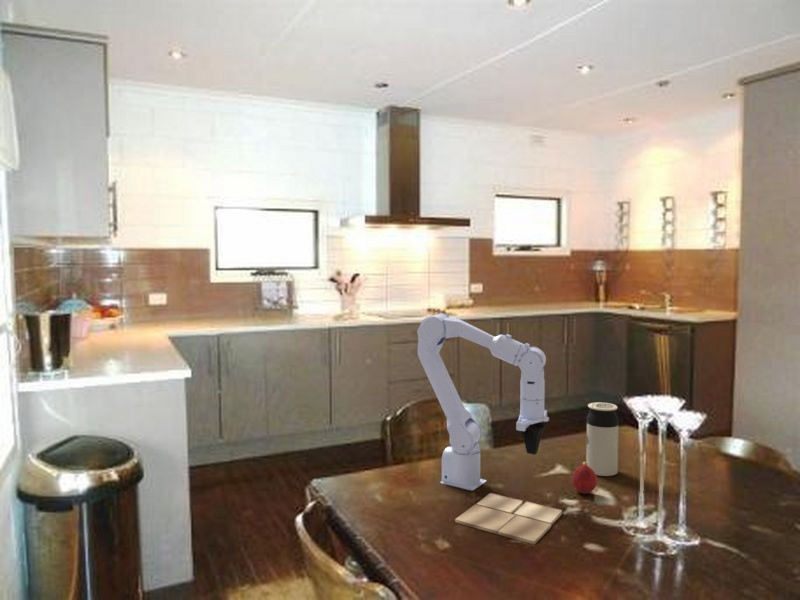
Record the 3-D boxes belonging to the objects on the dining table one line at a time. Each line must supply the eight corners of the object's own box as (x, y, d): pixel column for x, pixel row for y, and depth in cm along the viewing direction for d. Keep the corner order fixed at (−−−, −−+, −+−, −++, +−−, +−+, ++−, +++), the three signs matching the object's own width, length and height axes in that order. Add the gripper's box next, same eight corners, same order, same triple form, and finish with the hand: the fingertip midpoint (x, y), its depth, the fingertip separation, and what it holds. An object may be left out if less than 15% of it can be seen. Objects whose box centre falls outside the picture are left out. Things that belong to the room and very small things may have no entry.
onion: (598, 500, 138) (599, 467, 138) (573, 498, 139) (573, 465, 139) (595, 490, 144) (595, 459, 143) (571, 489, 145) (571, 457, 145)
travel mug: (620, 469, 158) (621, 404, 157) (613, 479, 151) (614, 410, 150) (590, 464, 162) (591, 400, 161) (582, 473, 156) (583, 406, 155)
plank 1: (476, 508, 134) (476, 503, 134) (490, 497, 140) (490, 492, 140) (510, 517, 129) (510, 512, 129) (523, 506, 135) (523, 500, 135)
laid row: (454, 524, 126) (454, 519, 126) (474, 509, 134) (474, 504, 134) (534, 547, 116) (534, 541, 116) (551, 529, 123) (551, 524, 123)
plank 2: (513, 518, 129) (513, 513, 129) (526, 506, 134) (526, 501, 134) (550, 528, 124) (550, 522, 124) (562, 515, 130) (562, 510, 130)
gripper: (536, 406, 133) (536, 464, 134) (558, 394, 145) (558, 448, 146) (508, 402, 137) (507, 459, 138) (532, 390, 149) (531, 443, 150)
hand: (532, 453), depth 142 cm, fingers closed
